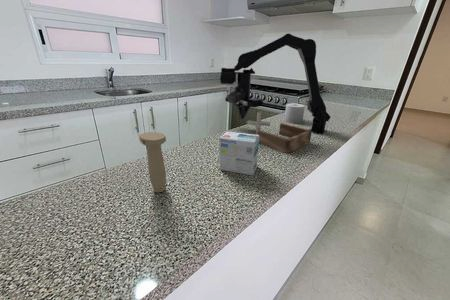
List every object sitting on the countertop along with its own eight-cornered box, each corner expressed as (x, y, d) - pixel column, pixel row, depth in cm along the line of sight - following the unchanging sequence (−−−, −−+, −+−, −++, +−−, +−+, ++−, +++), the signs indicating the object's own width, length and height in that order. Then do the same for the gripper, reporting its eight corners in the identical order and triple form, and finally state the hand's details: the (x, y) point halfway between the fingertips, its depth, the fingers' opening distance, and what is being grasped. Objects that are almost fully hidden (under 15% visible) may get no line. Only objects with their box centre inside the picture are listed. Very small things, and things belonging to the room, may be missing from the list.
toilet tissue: (295, 116, 123) (297, 101, 120) (305, 123, 111) (307, 107, 108) (280, 116, 123) (282, 102, 119) (288, 123, 111) (290, 107, 107)
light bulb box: (257, 166, 68) (260, 134, 63) (253, 176, 62) (255, 142, 57) (226, 160, 71) (226, 130, 66) (219, 170, 65) (218, 137, 61)
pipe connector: (268, 138, 90) (271, 115, 86) (245, 136, 92) (246, 114, 88) (269, 131, 99) (271, 110, 95) (247, 129, 101) (248, 108, 97)
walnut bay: (280, 133, 96) (281, 123, 94) (309, 142, 86) (311, 130, 84) (256, 142, 86) (257, 130, 84) (286, 153, 76) (288, 140, 74)
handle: (160, 199, 52) (152, 141, 46) (144, 190, 55) (134, 135, 49) (175, 189, 55) (169, 135, 49) (159, 182, 59) (151, 130, 53)
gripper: (216, 83, 95) (216, 117, 102) (246, 88, 83) (245, 126, 89) (234, 82, 102) (233, 113, 109) (264, 85, 89) (262, 121, 96)
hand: (242, 118), depth 100 cm, fingers closed
